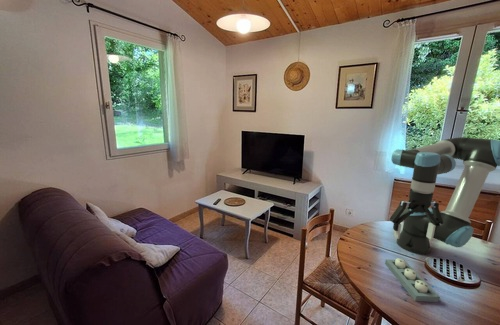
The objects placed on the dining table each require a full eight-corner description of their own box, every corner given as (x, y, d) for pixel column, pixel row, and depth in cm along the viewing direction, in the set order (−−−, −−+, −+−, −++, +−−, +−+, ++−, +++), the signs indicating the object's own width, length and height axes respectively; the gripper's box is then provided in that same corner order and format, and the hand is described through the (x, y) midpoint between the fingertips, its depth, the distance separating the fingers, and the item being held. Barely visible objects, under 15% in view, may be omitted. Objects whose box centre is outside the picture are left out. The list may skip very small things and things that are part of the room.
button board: (403, 264, 109) (404, 260, 108) (438, 301, 88) (439, 296, 87) (384, 263, 109) (385, 259, 109) (415, 300, 88) (416, 295, 87)
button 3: (422, 286, 93) (423, 279, 92) (429, 294, 89) (431, 287, 88) (411, 286, 93) (413, 279, 93) (418, 294, 89) (420, 287, 89)
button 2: (411, 274, 100) (412, 268, 99) (417, 281, 96) (418, 275, 95) (401, 274, 100) (402, 268, 99) (407, 281, 96) (408, 274, 95)
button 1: (401, 264, 107) (402, 258, 106) (407, 270, 103) (408, 264, 102) (392, 264, 107) (393, 257, 106) (397, 270, 103) (398, 263, 102)
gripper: (446, 187, 93) (436, 233, 97) (384, 186, 94) (378, 232, 99) (462, 194, 85) (450, 243, 90) (395, 193, 87) (387, 241, 91)
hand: (412, 237), depth 94 cm, fingers open, 13 cm apart
